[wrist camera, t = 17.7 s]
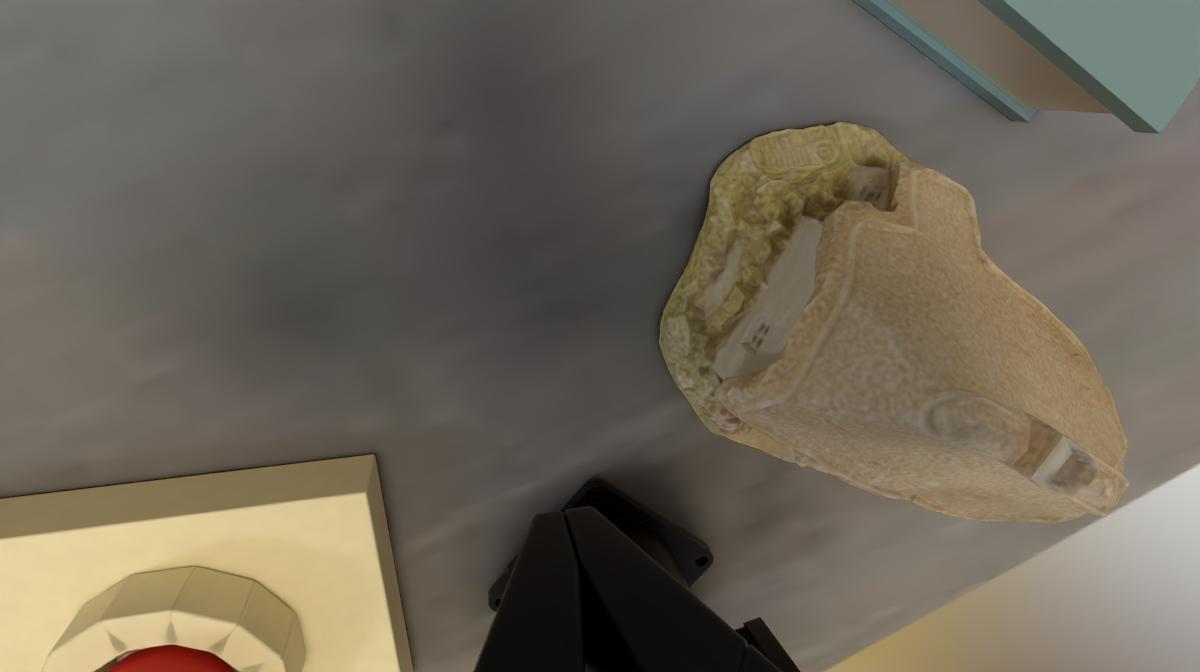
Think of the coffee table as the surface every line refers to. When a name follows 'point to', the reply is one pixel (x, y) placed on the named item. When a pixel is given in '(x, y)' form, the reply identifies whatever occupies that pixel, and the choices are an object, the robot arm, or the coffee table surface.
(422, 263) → the coffee table surface
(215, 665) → the button
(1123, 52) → the book
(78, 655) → the button block
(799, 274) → the ceramic model
